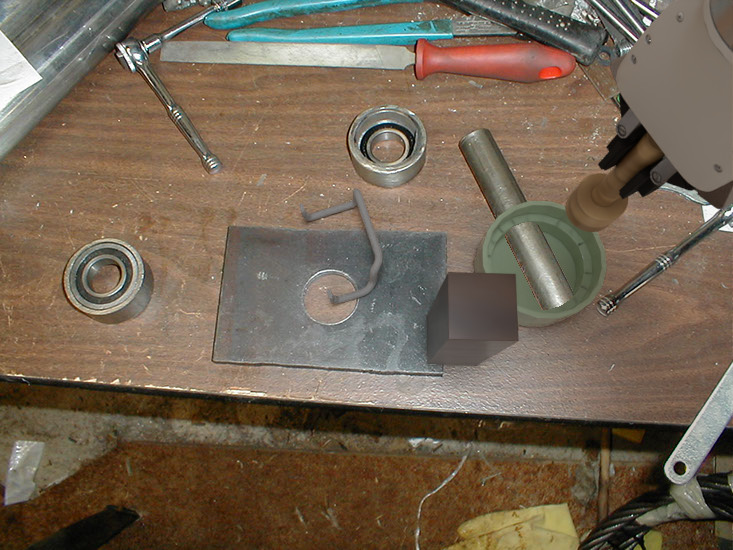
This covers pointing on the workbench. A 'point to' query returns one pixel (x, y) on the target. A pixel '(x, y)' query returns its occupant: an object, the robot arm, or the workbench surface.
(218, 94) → the workbench surface
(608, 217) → the muddler
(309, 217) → the bracket
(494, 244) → the bowl
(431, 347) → the brown block
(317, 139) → the workbench surface
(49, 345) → the workbench surface
